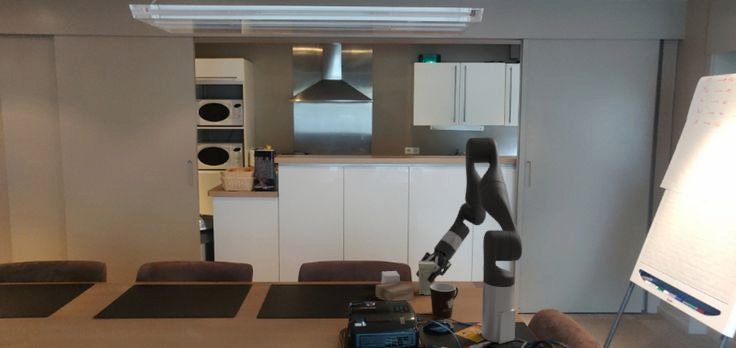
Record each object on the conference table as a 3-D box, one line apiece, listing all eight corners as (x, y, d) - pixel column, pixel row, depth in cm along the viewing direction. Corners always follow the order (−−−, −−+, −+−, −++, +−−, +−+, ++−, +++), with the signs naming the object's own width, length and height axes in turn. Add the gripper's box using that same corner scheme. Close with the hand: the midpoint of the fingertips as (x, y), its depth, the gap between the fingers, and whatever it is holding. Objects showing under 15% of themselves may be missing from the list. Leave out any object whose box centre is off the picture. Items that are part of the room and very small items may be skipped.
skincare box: (434, 291, 194) (435, 260, 193) (434, 295, 190) (435, 264, 189) (417, 290, 195) (418, 260, 194) (417, 294, 191) (418, 263, 189)
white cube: (381, 286, 200) (381, 271, 200) (396, 285, 202) (396, 270, 201) (384, 291, 195) (385, 276, 194) (399, 290, 196) (400, 275, 195)
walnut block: (413, 300, 186) (413, 287, 185) (392, 306, 180) (392, 292, 179) (395, 292, 194) (396, 280, 193) (375, 297, 188) (375, 285, 187)
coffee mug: (435, 321, 165) (436, 292, 164) (425, 312, 174) (426, 284, 172) (467, 318, 168) (468, 289, 167) (456, 309, 177) (457, 281, 176)
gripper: (432, 235, 200) (407, 268, 196) (455, 243, 188) (429, 278, 183) (442, 247, 203) (417, 279, 199) (465, 255, 191) (440, 290, 186)
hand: (423, 278), depth 191 cm, fingers closed on skincare box, 7 cm apart
